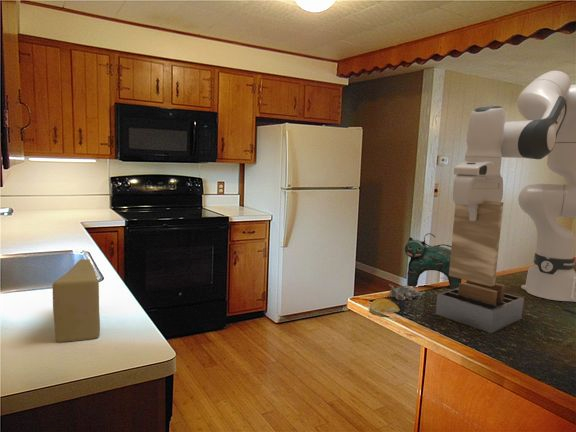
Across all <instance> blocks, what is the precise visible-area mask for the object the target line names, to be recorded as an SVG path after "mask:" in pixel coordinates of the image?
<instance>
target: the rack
mask: <svg viewBox="0 0 576 432" xmlns="http://www.w3.org/2000/svg"><path fill="white" fill-rule="evenodd" d="M458 290H459V287H458V288H455V289H450V290H446V291H443V292H439V293H437V294H436V295H437V296H436V307H435V315H437V316H440V317H442V318H446V319H448V320H452V321H455V322H457V323H459V324H464V325H466V326H469V327H472V328H474V329H477V330H480V331H483V332H486V333H489V334H492V333H494V332H495V333H496V332H497V331H498V330H501V329H503V328H505V327H507V326H509V325H511V324H514V323H515V322H518V321H519V320H521V319H523V309H524V301H525V298H524V297H521V296H518V295H513V294H509V293H506V292H504V300H503V302H501V301H498V300H496V305H494V304H490V303H487V302H484V301H480V300H477V299H473V298H470V297H466V296H463V295H459V294H458Z"/></svg>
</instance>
